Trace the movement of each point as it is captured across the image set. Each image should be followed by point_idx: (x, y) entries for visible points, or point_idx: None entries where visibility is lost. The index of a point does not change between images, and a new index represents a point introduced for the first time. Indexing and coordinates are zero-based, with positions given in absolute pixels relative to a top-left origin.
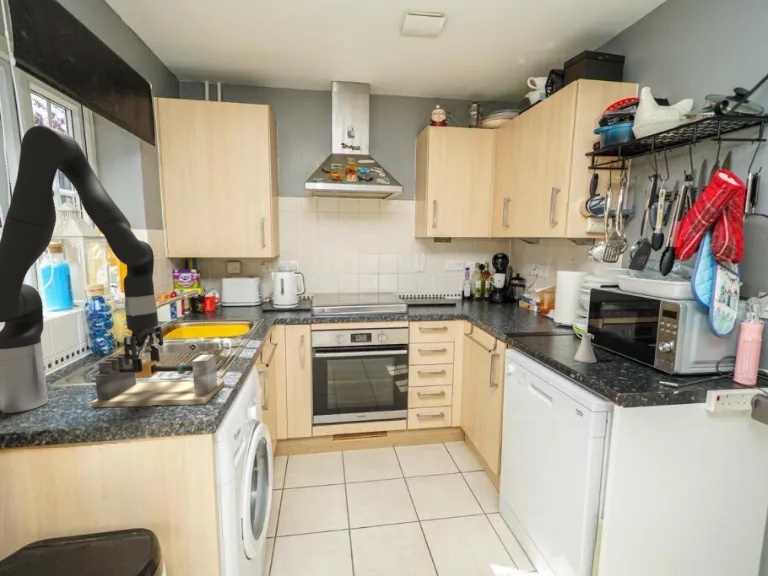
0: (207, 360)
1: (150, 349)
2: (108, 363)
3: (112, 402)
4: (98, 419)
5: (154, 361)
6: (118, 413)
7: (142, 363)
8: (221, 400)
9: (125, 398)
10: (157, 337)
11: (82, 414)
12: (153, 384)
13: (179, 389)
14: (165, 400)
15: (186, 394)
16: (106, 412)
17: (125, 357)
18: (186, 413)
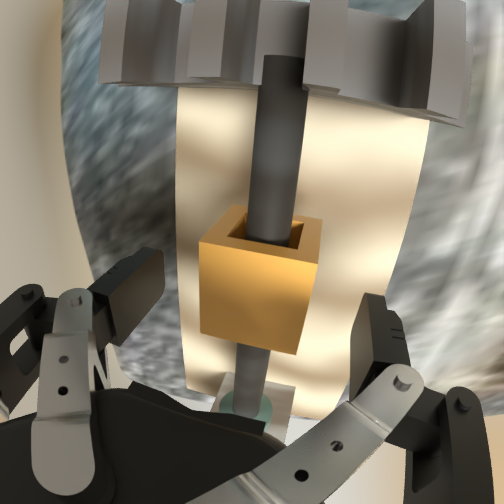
0: None
1: (385, 369)
2: (104, 71)
3: (179, 112)
4: (99, 131)
5: (274, 348)
6: (133, 169)
7: (235, 285)
8: None
9: (204, 152)
10: (418, 501)
11: None
12: (378, 212)
13: None
14: (180, 306)
15: (223, 354)
16: (142, 120)
17: (18, 292)
18: (143, 346)
